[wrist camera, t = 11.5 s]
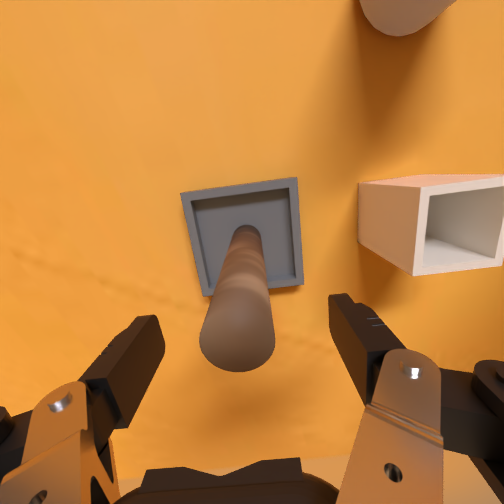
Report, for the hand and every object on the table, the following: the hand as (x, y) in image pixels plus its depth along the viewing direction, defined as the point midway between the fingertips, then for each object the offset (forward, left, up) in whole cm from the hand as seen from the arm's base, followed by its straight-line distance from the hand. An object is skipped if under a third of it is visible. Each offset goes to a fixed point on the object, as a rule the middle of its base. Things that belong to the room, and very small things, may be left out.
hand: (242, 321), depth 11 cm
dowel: (0, 0, -14) cm, 14 cm away
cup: (-15, -1, -15) cm, 21 cm away
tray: (0, 0, -15) cm, 15 cm away
